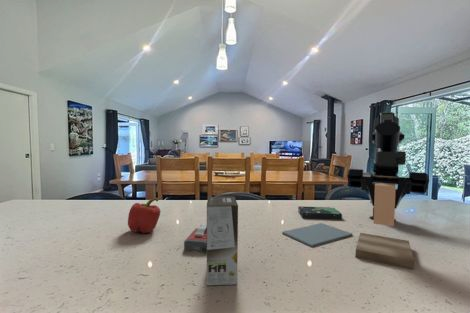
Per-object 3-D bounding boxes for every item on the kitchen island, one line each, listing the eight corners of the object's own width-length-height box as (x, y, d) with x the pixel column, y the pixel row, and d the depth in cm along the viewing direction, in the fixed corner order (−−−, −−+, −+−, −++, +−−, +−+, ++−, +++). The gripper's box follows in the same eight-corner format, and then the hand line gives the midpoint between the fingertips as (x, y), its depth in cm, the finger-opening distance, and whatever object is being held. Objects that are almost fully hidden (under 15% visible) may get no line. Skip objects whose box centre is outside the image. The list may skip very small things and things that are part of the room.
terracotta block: (374, 219, 70) (375, 182, 69) (393, 221, 67) (395, 184, 67) (373, 223, 66) (374, 184, 65) (394, 226, 63) (395, 186, 63)
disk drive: (302, 220, 97) (342, 220, 96) (302, 212, 97) (342, 213, 95) (297, 212, 107) (334, 213, 106) (297, 206, 107) (334, 206, 106)
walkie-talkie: (214, 256, 64) (227, 230, 84) (214, 239, 64) (227, 216, 84) (181, 254, 66) (202, 228, 85) (180, 237, 65) (202, 215, 85)
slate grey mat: (321, 224, 89) (321, 223, 89) (352, 235, 79) (352, 233, 79) (282, 233, 80) (282, 231, 80) (311, 247, 70) (311, 244, 70)
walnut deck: (359, 239, 76) (360, 232, 76) (408, 247, 70) (408, 240, 70) (355, 257, 64) (355, 249, 64) (413, 269, 58) (414, 260, 58)
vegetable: (149, 223, 89) (149, 195, 89) (169, 229, 83) (169, 199, 83) (120, 232, 80) (119, 200, 80) (139, 239, 74) (139, 205, 74)
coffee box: (238, 285, 51) (239, 205, 50) (206, 286, 50) (206, 205, 49) (234, 263, 60) (235, 195, 59) (207, 264, 59) (207, 196, 59)
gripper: (349, 140, 74) (342, 184, 65) (429, 141, 64) (435, 191, 55) (351, 166, 81) (345, 208, 72) (424, 169, 71) (428, 218, 62)
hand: (384, 206), depth 65 cm, fingers closed on terracotta block, 4 cm apart
